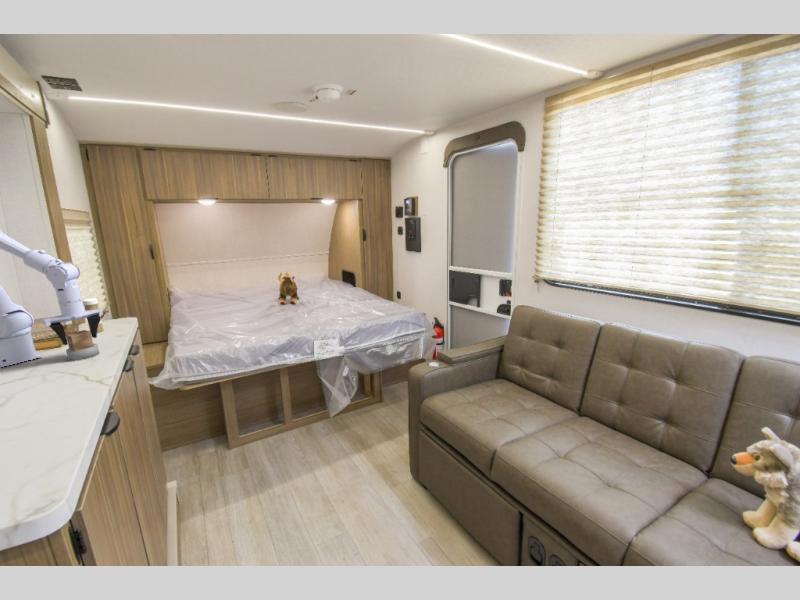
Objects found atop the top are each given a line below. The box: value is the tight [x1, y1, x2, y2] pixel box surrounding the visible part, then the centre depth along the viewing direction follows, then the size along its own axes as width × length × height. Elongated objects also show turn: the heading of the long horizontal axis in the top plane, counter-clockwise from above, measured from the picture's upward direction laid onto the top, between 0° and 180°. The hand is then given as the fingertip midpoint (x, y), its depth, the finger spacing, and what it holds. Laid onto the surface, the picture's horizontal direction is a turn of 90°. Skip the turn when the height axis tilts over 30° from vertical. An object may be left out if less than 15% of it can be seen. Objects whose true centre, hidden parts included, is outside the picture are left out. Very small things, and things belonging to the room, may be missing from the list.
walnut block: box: [65, 329, 94, 351], centre depth 121 cm, size 5×5×5 cm
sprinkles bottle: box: [82, 297, 104, 333], centre depth 147 cm, size 5×5×14 cm
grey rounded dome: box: [65, 342, 100, 361], centre depth 122 cm, size 8×8×3 cm
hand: (80, 340), depth 121 cm, fingers open, 7 cm apart
